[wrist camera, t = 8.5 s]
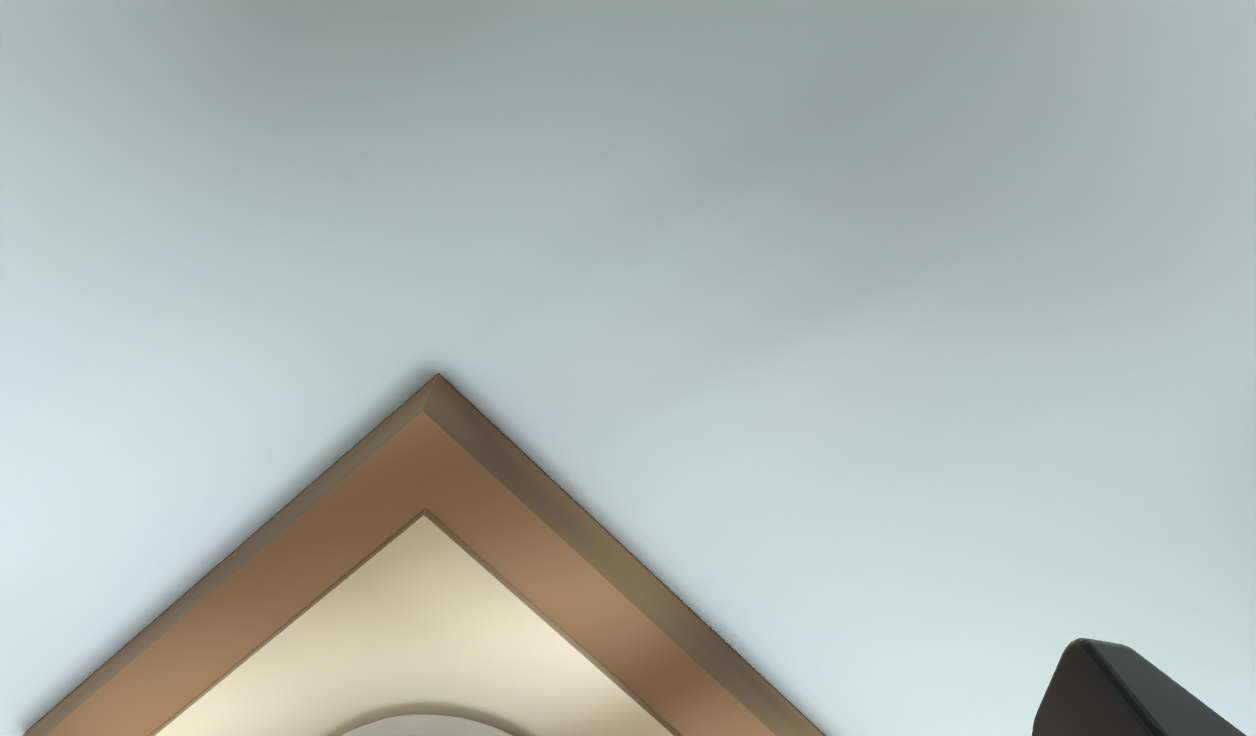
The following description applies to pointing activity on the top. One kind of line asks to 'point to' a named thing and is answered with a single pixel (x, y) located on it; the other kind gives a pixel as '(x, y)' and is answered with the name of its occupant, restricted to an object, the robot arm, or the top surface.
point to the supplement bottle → (426, 727)
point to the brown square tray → (428, 613)
